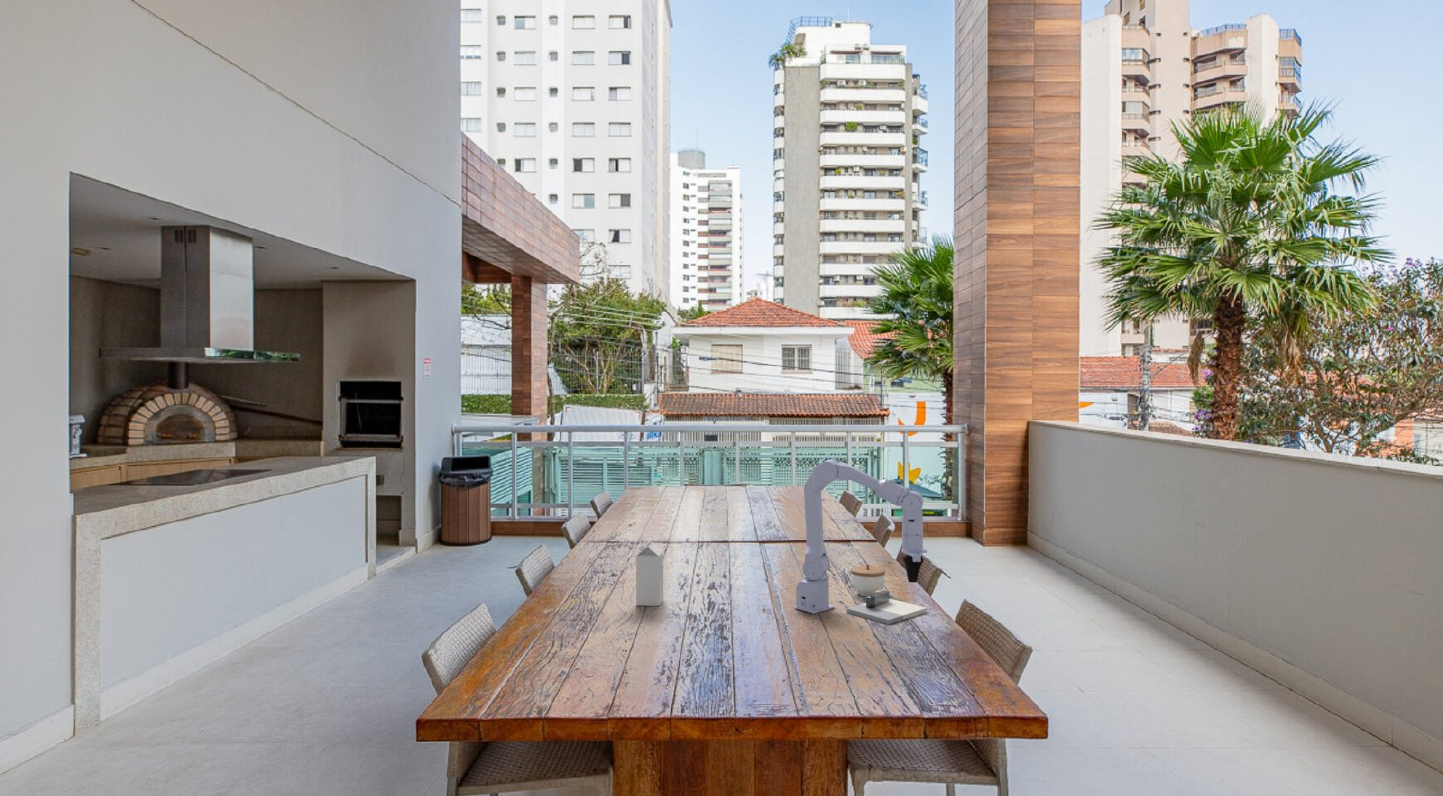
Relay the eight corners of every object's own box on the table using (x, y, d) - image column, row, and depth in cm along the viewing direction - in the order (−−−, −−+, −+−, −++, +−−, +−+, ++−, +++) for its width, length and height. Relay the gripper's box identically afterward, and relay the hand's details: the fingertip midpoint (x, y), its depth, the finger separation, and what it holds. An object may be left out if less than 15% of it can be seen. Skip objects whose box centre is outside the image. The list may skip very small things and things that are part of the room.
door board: (888, 624, 210) (888, 609, 210) (846, 612, 221) (846, 598, 221) (927, 611, 221) (927, 598, 221) (885, 601, 233) (885, 588, 233)
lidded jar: (888, 598, 236) (888, 568, 236) (853, 598, 236) (853, 568, 236) (881, 589, 247) (881, 560, 247) (848, 589, 247) (848, 560, 247)
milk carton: (663, 600, 235) (663, 538, 235) (659, 606, 228) (659, 543, 228) (640, 599, 236) (640, 538, 236) (635, 605, 229) (635, 542, 229)
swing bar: (872, 608, 220) (872, 598, 220) (863, 606, 222) (863, 596, 222) (890, 600, 228) (890, 591, 228) (882, 599, 230) (882, 589, 230)
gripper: (931, 539, 209) (931, 588, 209) (922, 529, 224) (922, 575, 224) (905, 538, 210) (905, 588, 210) (897, 529, 224) (897, 575, 224)
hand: (912, 581), depth 217 cm, fingers closed
